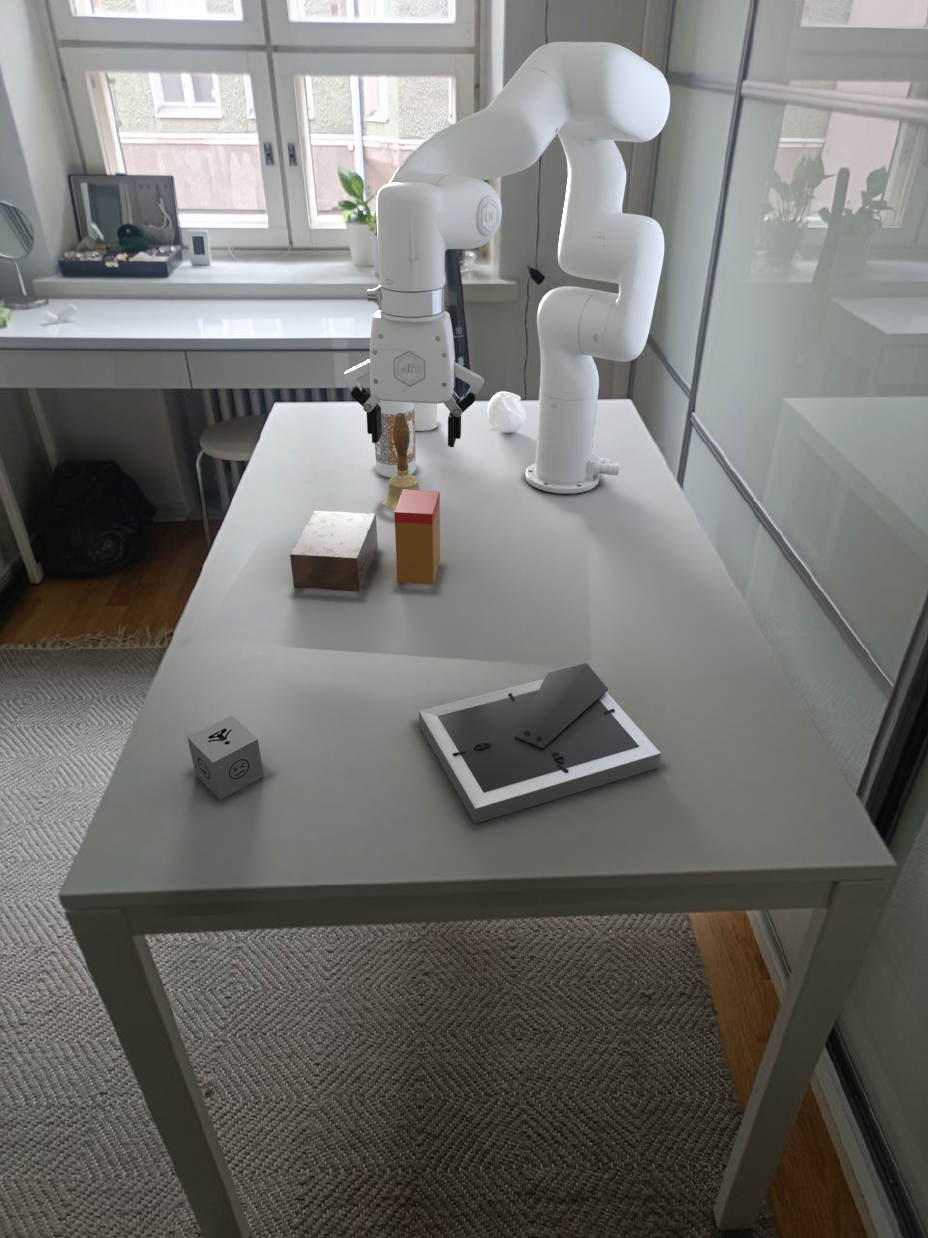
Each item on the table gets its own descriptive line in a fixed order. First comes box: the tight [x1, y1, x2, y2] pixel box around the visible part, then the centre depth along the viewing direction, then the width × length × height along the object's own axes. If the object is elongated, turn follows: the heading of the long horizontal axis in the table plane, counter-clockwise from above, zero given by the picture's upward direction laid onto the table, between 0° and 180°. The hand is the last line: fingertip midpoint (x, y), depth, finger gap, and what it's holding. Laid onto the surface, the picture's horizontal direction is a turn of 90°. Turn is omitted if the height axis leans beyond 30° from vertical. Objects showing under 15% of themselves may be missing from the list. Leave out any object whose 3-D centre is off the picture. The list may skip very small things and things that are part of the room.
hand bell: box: [381, 413, 420, 512], centre depth 136 cm, size 8×8×16 cm
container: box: [393, 489, 441, 585], centre depth 119 cm, size 11×7×13 cm
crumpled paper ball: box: [486, 390, 528, 434], centre depth 167 cm, size 8×8×8 cm
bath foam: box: [374, 400, 417, 479], centre depth 147 cm, size 7×7×20 cm
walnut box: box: [289, 510, 379, 593], centre depth 122 cm, size 9×13×6 cm
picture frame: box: [418, 662, 662, 825], centre depth 93 cm, size 16×3×21 cm
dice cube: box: [187, 714, 265, 801], centre depth 88 cm, size 5×5×5 cm
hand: (414, 441), depth 111 cm, fingers open, 9 cm apart
